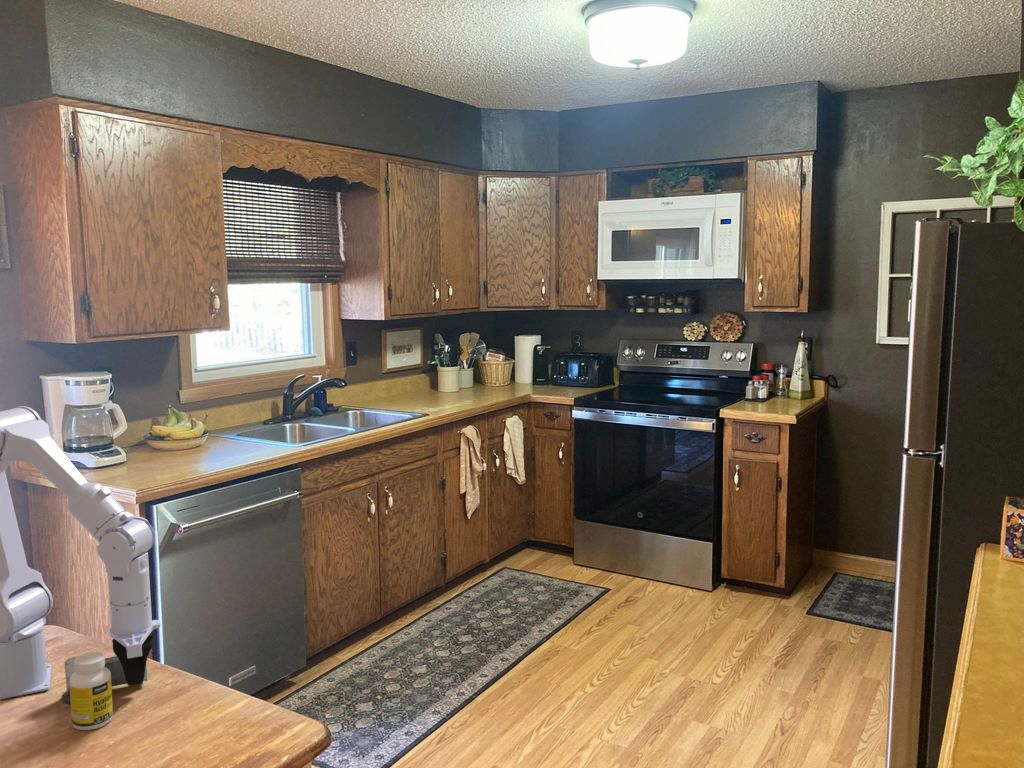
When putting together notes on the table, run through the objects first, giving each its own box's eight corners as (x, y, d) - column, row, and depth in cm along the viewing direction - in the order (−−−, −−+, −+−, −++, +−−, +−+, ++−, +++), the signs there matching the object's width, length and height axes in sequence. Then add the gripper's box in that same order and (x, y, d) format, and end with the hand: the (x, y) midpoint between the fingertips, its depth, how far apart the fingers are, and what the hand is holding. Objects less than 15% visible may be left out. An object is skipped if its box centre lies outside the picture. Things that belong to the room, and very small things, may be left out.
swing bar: (66, 697, 128) (64, 666, 127) (66, 689, 130) (64, 658, 130) (147, 681, 133) (145, 651, 132) (146, 673, 135) (144, 644, 135)
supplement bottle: (96, 733, 119) (92, 668, 118) (63, 729, 121) (58, 664, 119) (121, 714, 125) (117, 651, 123) (89, 710, 126) (85, 648, 124)
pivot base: (62, 693, 131) (62, 690, 131) (93, 687, 133) (93, 683, 133) (61, 706, 127) (61, 702, 127) (94, 700, 129) (93, 696, 129)
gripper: (162, 611, 124) (167, 698, 126) (155, 579, 137) (159, 658, 138) (109, 620, 121) (114, 709, 122) (107, 586, 133) (112, 667, 135)
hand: (135, 683), depth 130 cm, fingers closed
